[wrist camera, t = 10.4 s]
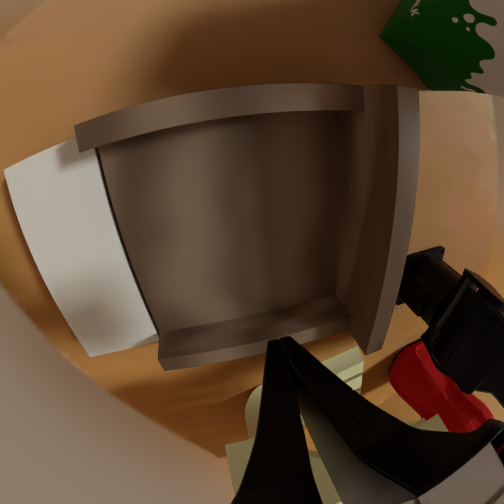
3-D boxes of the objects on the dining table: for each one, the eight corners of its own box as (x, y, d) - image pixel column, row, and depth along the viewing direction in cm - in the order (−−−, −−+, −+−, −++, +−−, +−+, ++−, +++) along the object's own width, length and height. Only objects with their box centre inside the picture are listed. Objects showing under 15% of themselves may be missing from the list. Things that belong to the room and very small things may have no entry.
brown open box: (342, 90, 16) (418, 89, 9) (339, 290, 25) (381, 349, 18) (104, 121, 14) (45, 131, 8) (166, 327, 23) (164, 402, 16)
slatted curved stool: (210, 353, 26) (241, 526, 11) (356, 299, 27) (453, 439, 11) (273, 439, 41) (298, 519, 26) (353, 409, 42) (390, 484, 27)
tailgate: (90, 131, 13) (3, 170, 11) (160, 340, 21) (90, 357, 20) (95, 131, 14) (12, 166, 12) (158, 328, 23) (91, 345, 21)
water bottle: (386, 352, 34) (468, 487, 12) (437, 327, 35) (519, 436, 13) (373, 385, 38) (435, 500, 17) (421, 362, 40) (485, 460, 18)
